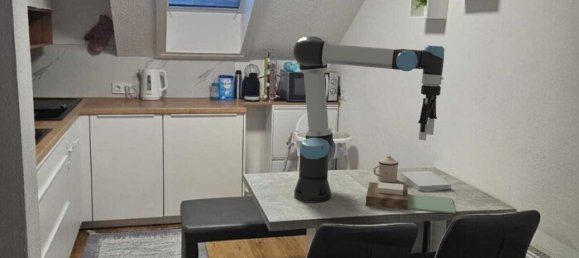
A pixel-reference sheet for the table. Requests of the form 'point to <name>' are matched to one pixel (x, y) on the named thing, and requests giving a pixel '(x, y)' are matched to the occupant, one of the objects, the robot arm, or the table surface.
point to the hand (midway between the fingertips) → (426, 137)
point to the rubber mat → (431, 203)
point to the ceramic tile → (390, 188)
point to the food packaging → (425, 181)
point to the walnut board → (386, 198)
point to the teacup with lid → (387, 170)
